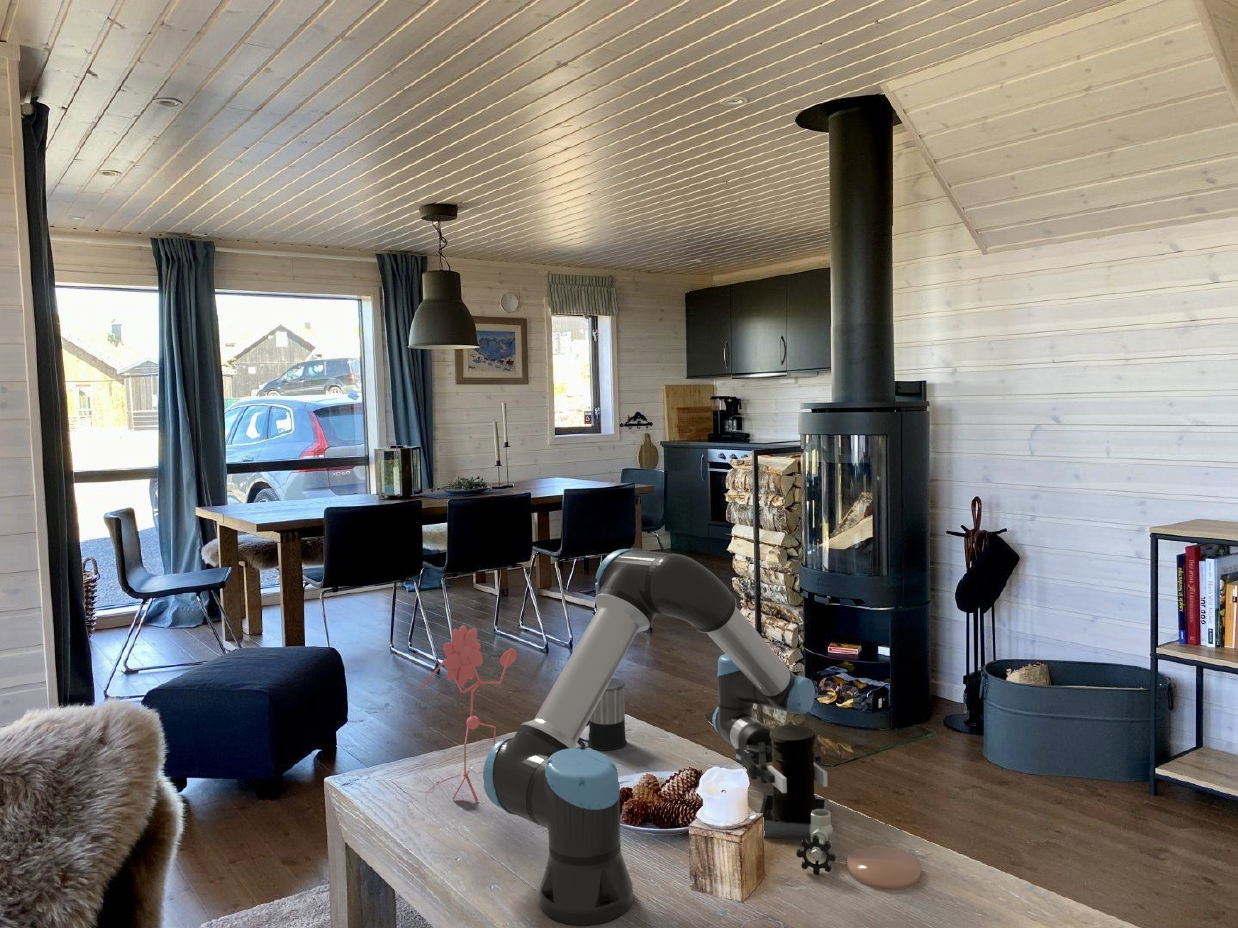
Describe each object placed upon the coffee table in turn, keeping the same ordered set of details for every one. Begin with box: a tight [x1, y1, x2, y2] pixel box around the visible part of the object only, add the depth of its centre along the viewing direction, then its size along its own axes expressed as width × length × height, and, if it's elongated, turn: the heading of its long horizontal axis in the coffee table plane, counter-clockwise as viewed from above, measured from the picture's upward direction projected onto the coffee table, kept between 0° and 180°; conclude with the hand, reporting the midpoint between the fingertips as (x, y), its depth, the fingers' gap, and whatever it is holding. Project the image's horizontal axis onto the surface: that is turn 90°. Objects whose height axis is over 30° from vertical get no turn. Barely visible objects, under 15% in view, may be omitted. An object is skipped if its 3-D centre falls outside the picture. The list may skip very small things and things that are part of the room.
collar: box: [759, 793, 829, 842], centre depth 177 cm, size 12×12×3 cm
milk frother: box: [576, 677, 627, 751], centre depth 221 cm, size 14×16×15 cm
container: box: [770, 724, 817, 823], centre depth 177 cm, size 9×9×18 cm
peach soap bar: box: [846, 845, 922, 890], centre depth 159 cm, size 12×12×2 cm
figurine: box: [418, 624, 518, 803], centre depth 199 cm, size 15×26×35 cm, turn 148°
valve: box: [795, 809, 837, 876], centre depth 164 cm, size 7×7×12 cm
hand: (805, 782), depth 172 cm, fingers closed on container, 8 cm apart
